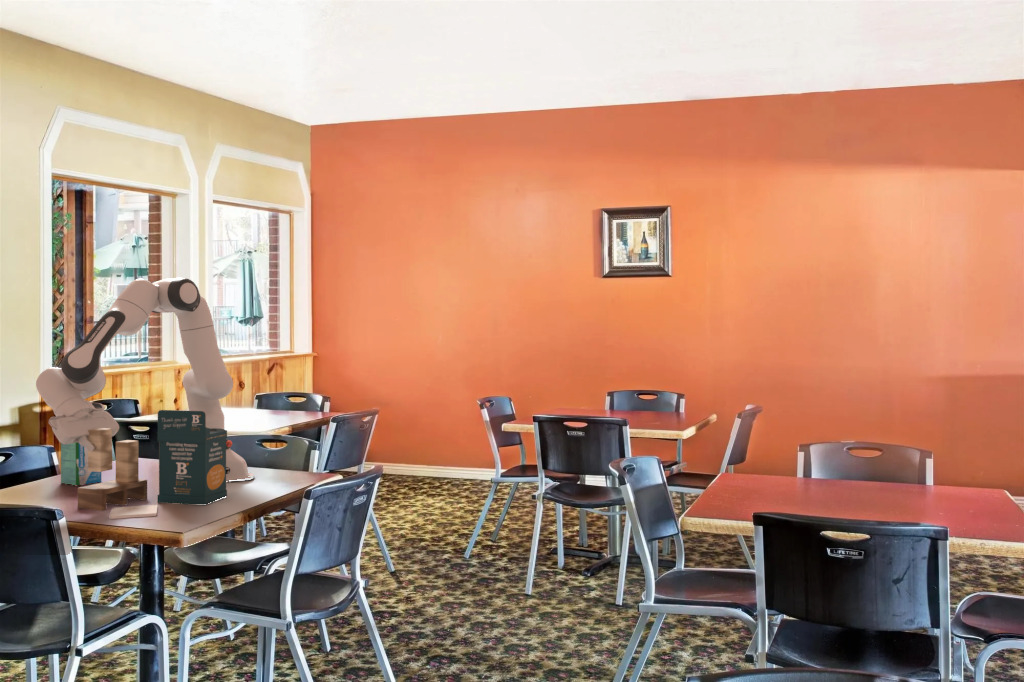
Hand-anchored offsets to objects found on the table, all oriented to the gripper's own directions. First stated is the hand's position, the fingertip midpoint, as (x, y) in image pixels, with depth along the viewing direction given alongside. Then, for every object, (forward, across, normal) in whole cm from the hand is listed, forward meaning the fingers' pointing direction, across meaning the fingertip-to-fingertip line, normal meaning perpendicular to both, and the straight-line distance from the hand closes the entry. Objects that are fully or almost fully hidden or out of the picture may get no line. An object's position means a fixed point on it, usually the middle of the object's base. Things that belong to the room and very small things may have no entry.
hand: (101, 448), depth 258 cm
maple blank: (+4, 0, +5) cm, 6 cm away
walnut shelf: (+12, +5, +13) cm, 18 cm away
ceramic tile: (+22, -3, +2) cm, 23 cm away
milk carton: (-14, +28, +38) cm, 50 cm away
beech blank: (+7, +11, +9) cm, 16 cm away
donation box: (+25, +20, 0) cm, 32 cm away
